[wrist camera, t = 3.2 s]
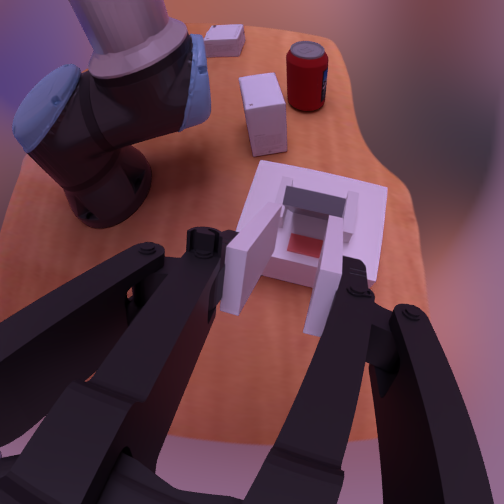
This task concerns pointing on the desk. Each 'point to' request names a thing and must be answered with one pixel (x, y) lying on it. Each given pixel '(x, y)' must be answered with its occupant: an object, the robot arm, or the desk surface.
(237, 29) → the small box
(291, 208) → the lever
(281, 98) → the small box
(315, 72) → the beverage can
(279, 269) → the breaker box
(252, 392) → the desk surface
